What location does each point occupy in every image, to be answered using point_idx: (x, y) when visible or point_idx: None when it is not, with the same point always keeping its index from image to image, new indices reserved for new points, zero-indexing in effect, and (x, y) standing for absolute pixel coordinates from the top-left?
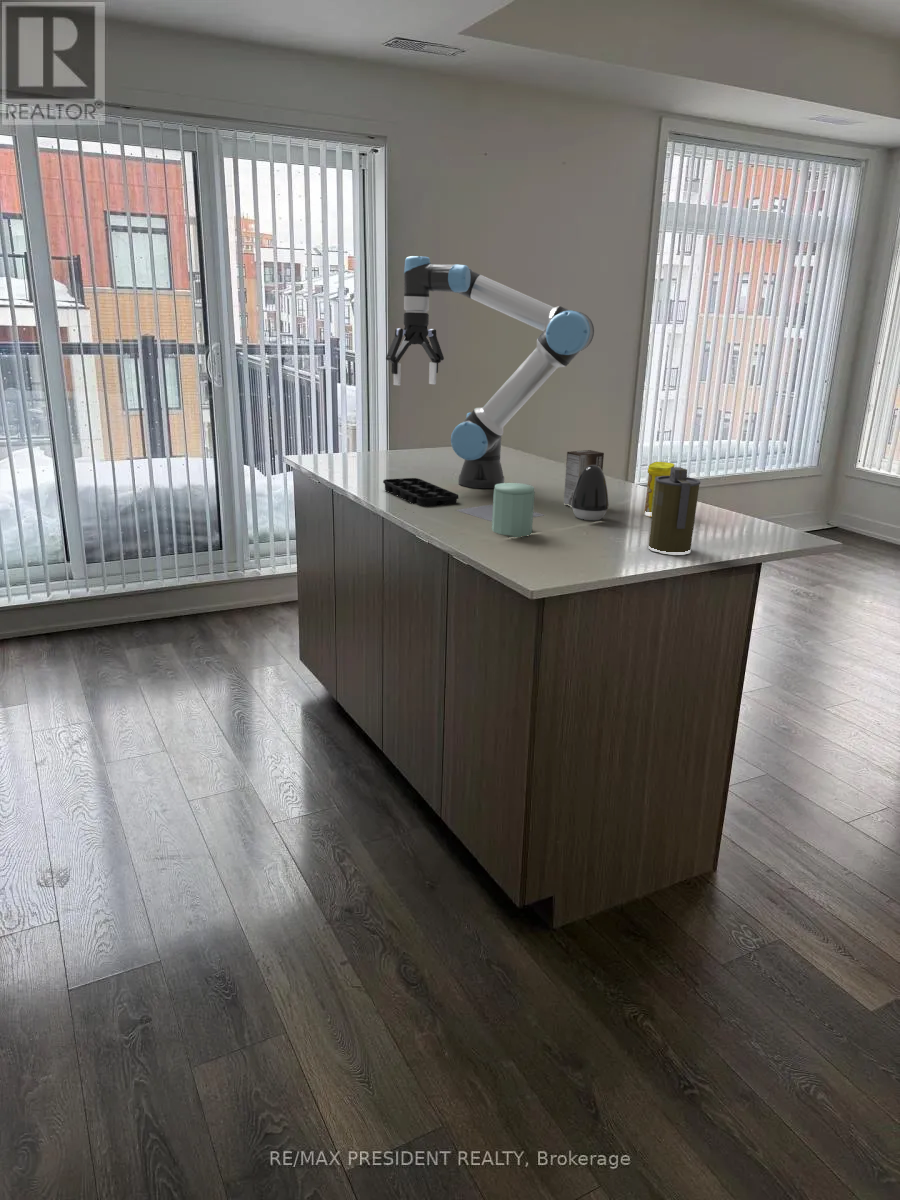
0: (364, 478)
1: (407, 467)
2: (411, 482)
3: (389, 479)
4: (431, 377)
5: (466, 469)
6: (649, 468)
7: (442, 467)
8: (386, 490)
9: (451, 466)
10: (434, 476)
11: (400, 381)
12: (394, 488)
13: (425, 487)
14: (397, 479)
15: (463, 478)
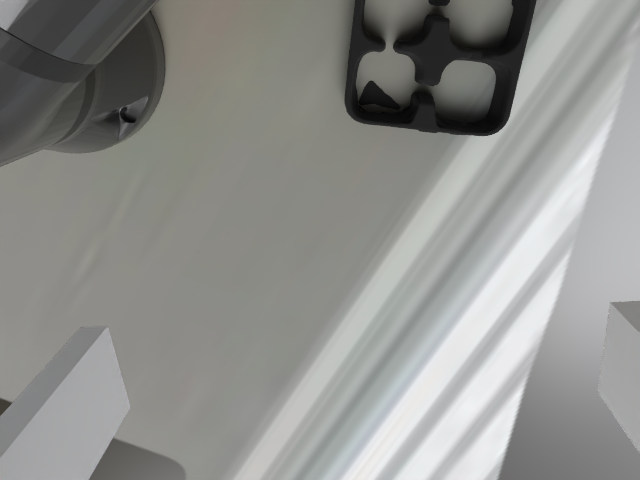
0: (426, 325)
1: (194, 415)
2: (423, 40)
3: (470, 132)
4: (86, 421)
5: (124, 53)
6: None
7: None
8: (495, 98)
9: None
10: (179, 258)
11: (637, 327)
12: (523, 13)
13: (361, 24)
14: (437, 124)
15: (152, 53)
